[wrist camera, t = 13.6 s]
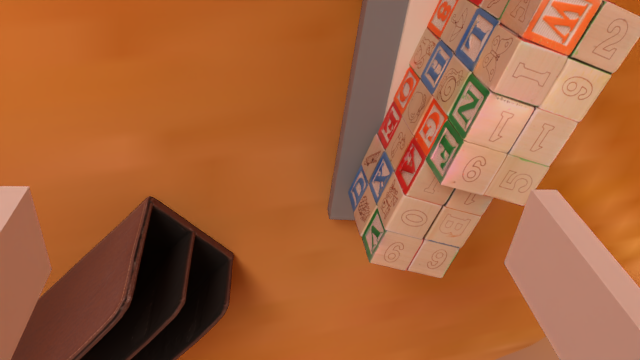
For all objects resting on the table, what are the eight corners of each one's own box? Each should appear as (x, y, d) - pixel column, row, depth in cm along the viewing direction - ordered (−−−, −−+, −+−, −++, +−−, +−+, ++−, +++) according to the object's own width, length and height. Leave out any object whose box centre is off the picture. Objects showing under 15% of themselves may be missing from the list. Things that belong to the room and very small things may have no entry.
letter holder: (20, 313, 51) (-50, 454, 39) (150, 192, 45) (114, 313, 33) (106, 357, 56) (67, 495, 44) (235, 252, 50) (230, 377, 38)
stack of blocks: (409, 208, 47) (454, 310, 36) (345, 191, 45) (374, 293, 35) (542, -28, 37) (656, 21, 26) (467, -62, 35) (558, -24, 25)
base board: (384, -127, 34) (390, -126, 32) (564, -100, 36) (578, -97, 35) (327, 209, 48) (329, 221, 47) (459, 215, 50) (466, 226, 49)
